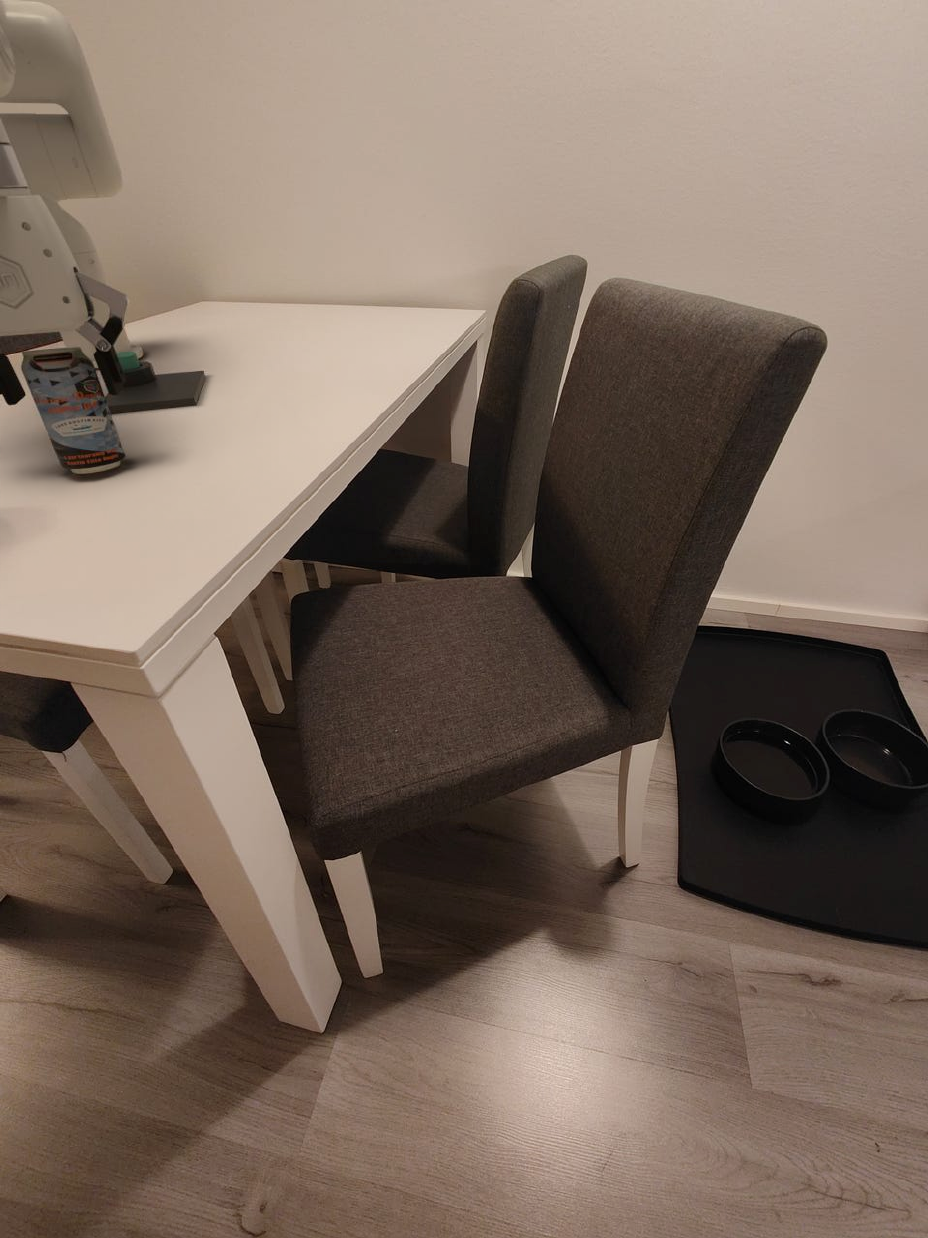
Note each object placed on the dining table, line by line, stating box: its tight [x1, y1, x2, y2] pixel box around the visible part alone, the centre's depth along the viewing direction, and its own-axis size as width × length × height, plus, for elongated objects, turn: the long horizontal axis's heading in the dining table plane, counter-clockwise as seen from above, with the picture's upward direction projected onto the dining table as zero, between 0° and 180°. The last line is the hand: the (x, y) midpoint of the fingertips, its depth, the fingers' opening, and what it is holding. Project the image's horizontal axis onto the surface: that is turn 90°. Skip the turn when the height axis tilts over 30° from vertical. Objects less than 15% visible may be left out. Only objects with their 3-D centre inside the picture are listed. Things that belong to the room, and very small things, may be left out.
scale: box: [105, 360, 206, 415], centre depth 80 cm, size 14×12×3 cm
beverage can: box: [20, 347, 126, 475], centre depth 57 cm, size 6×7×12 cm
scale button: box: [117, 352, 141, 370], centre depth 82 cm, size 3×3×2 cm
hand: (67, 395), depth 56 cm, fingers open, 8 cm apart
